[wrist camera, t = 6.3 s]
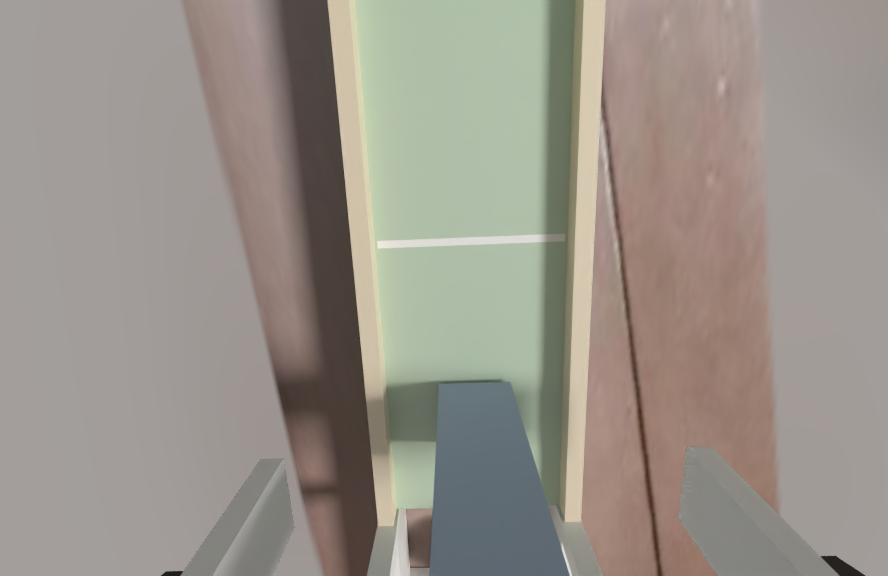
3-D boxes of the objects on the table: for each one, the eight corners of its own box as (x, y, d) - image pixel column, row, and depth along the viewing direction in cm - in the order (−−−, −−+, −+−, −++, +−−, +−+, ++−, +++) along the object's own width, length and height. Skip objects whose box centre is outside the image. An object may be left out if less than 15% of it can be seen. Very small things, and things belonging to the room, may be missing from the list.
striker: (439, 384, 17) (390, 1307, 3) (510, 381, 17) (797, 1315, 3) (442, 445, 18) (415, 1422, 4) (510, 444, 18) (741, 1435, 4)
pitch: (337, -98, 15) (311, -165, 12) (582, -113, 15) (614, -184, 12) (388, 479, 21) (378, 526, 18) (562, 475, 21) (580, 521, 18)
